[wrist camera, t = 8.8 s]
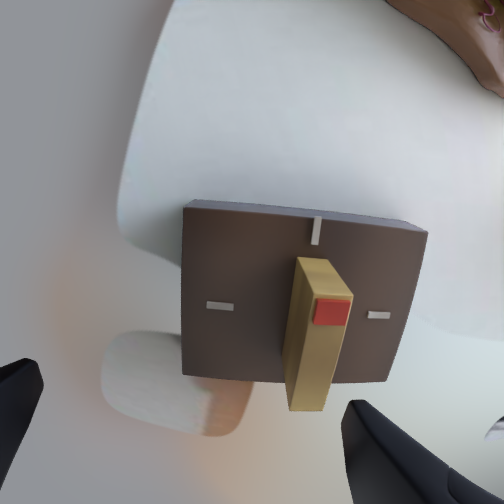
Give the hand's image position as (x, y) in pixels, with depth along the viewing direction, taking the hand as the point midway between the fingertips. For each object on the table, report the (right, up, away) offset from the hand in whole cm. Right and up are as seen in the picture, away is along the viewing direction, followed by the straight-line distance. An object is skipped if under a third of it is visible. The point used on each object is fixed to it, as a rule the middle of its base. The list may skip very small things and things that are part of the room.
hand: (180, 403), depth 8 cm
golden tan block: (+5, +1, +9) cm, 10 cm away
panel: (+5, +2, +12) cm, 13 cm away
